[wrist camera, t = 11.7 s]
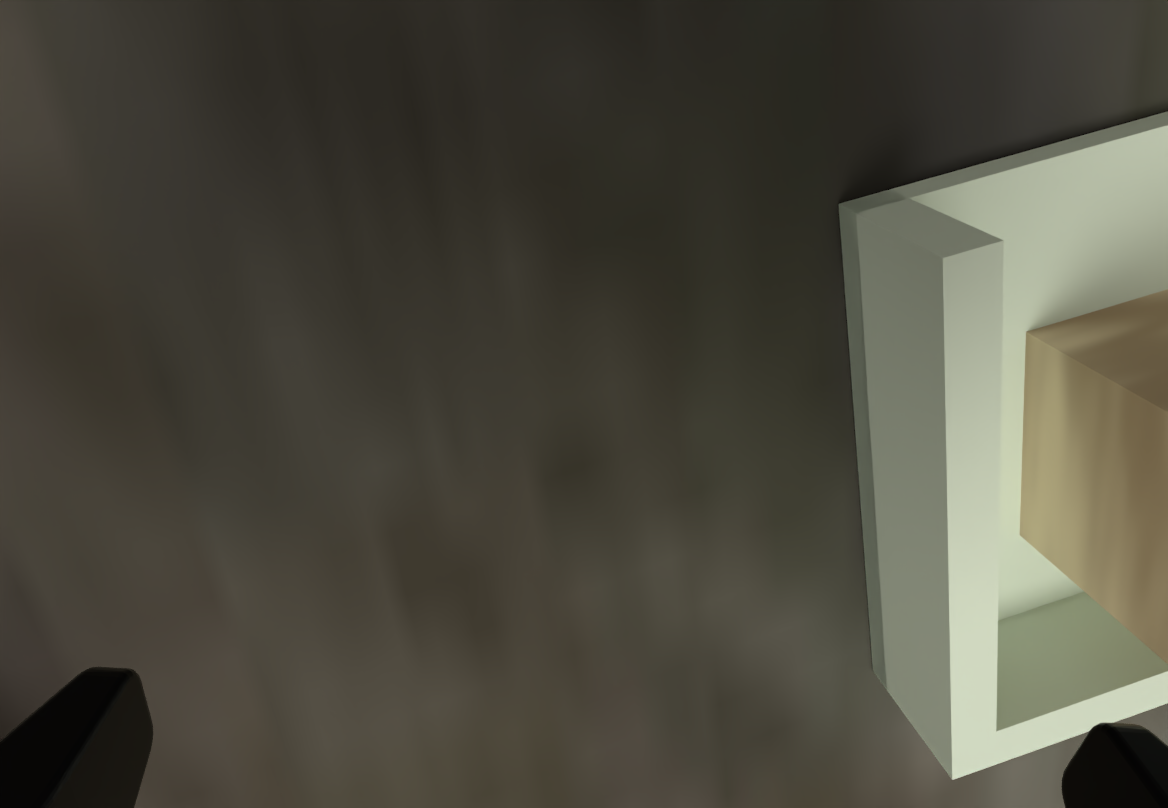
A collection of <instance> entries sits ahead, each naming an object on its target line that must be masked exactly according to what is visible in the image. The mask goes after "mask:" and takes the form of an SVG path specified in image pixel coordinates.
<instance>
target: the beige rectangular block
mask: <svg viewBox="0 0 1168 808" xmlns="http://www.w3.org/2000/svg"><path fill="white" fill-rule="evenodd" d="M1020 536H1021V537H1022V538H1024V539H1025V540H1026V541H1027V542H1028V543H1029V544H1030V545H1032V546H1033V547H1034V548H1035V549H1036V550H1037V551H1038V552H1040V553H1041V554H1042V555H1043V556H1044V557H1045V558H1047V559H1048V560H1049V561H1050V562H1051V563H1052V564H1053V565H1055V566H1056V567H1057V568H1058V569H1059V570H1060V571H1061V572H1063V573H1064V574H1065V575H1066V576H1067V577H1068V578H1069V579H1071V580H1072V581H1073V582H1074V583H1075V584H1076V585H1077V586H1079V587H1080V588H1081V589H1082V590H1083V591H1084V592H1085V593H1087V594H1088V595H1089V596H1090V597H1091V598H1092V599H1093V600H1095V601H1096V602H1097V603H1098V604H1099V605H1100V606H1101V607H1103V608H1104V609H1105V610H1106V611H1107V612H1108V613H1110V614H1111V615H1112V616H1113V617H1114V618H1115V619H1116V620H1118V621H1119V622H1120V623H1121V624H1122V625H1123V626H1124V627H1126V628H1127V629H1128V630H1129V631H1130V632H1131V633H1132V634H1134V635H1135V636H1136V637H1137V638H1138V639H1139V640H1140V641H1142V642H1143V643H1144V644H1145V645H1146V646H1147V647H1148V648H1150V649H1151V650H1152V651H1153V652H1154V653H1155V654H1156V655H1158V656H1159V657H1160V658H1161V659H1162V660H1163V661H1165V662H1166V663H1167V664H1168V289H1167V290H1164V291H1160V292H1157V293H1154V294H1150V295H1147V296H1144V297H1140V298H1137V299H1134V300H1130V301H1127V302H1124V303H1120V304H1117V305H1114V306H1110V307H1107V308H1104V309H1100V310H1097V311H1094V312H1091V313H1087V314H1084V315H1081V316H1077V317H1074V318H1071V319H1067V320H1064V321H1061V322H1057V323H1054V324H1051V325H1047V326H1044V327H1041V328H1037V329H1034V330H1031V331H1027V332H1026V347H1025V378H1024V410H1023V442H1022V474H1021V506H1020Z"/></svg>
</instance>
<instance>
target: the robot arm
mask: <svg viewBox="0 0 1168 808" xmlns="http://www.w3.org/2000/svg"><path fill="white" fill-rule="evenodd" d="M152 740H153V724H152V720H151V716H150V712H149V709H148V705H147V701H146V697H145V694H144V690H143V686H142V683H141V679H140V677H139V675H138V674H137V673H136V672H135V671H134V670H132V669H127V668H109V667H93V668H89V669H87V670H85V671H83V672H81V673H80V674H79V675H77V676H76V677H75V678H74V679H73V680H71V681H70V682H69V683H68V684H67V685H65V686H64V687H63V688H62V689H61V690H60V691H58V692H57V693H56V694H55V695H54V696H52V697H51V698H50V699H49V700H48V701H47V702H45V703H44V704H43V705H42V706H41V707H39V708H38V709H37V710H36V711H35V712H34V713H32V714H31V715H30V716H29V717H28V718H26V719H25V720H24V721H23V722H22V723H21V724H19V725H18V726H17V727H16V728H15V729H13V730H12V731H11V732H10V733H9V734H8V735H6V736H5V737H4V738H3V739H2V740H0V808H134V806H135V802H136V799H137V796H138V792H139V789H140V785H141V782H142V778H143V775H144V772H145V768H146V765H147V761H148V758H149V754H150V751H151V746H152ZM1062 795H1063V800H1064V804H1065V808H1168V746H1167V745H1166V744H1165V743H1164V742H1163V741H1161V740H1160V739H1159V738H1158V737H1157V736H1156V735H1154V734H1153V733H1152V732H1150V731H1149V730H1148V729H1146V728H1144V727H1142V726H1139V725H1135V724H1124V723H1106V722H1105V723H1099V724H1097V725H1095V726H1094V727H1092V729H1091V730H1090V731H1089V733H1088V734H1087V736H1086V737H1085V739H1084V740H1083V742H1082V744H1081V745H1080V747H1079V748H1078V750H1077V751H1076V753H1075V754H1074V756H1073V758H1072V759H1071V761H1070V762H1069V764H1068V765H1067V767H1066V769H1065V771H1064V774H1063V778H1062Z"/></svg>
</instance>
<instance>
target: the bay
mask: <svg viewBox="0 0 1168 808" xmlns="http://www.w3.org/2000/svg"><path fill="white" fill-rule="evenodd" d="M838 205H839V219H840V232H841V246H842V260H843V273H844V287H845V300H846V314H847V328H848V341H849V355H850V368H851V382H852V396H853V409H854V423H855V436H856V450H857V463H858V477H859V491H860V504H861V518H862V531H863V545H864V559H865V572H866V586H867V599H868V613H869V626H870V640H871V654H872V667H873V672H874V673H875V674H876V676H877V677H878V679H879V680H880V681H881V683H882V684H883V685H884V687H885V688H886V690H887V691H888V692H889V694H890V695H891V696H892V698H893V699H894V701H895V702H896V703H897V705H898V706H899V707H900V709H901V710H902V712H903V713H904V714H905V716H906V717H907V718H908V720H909V721H910V723H911V724H912V725H913V727H914V728H915V729H916V731H917V732H918V734H919V735H920V736H921V738H922V739H923V740H924V742H925V743H926V745H927V746H928V747H929V749H930V750H931V751H932V753H933V754H934V756H935V757H936V758H937V760H938V761H939V762H940V764H941V765H942V767H943V768H944V769H945V771H946V772H947V773H948V775H949V776H950V778H951V779H952V780H954V779H957V778H959V777H962V776H965V775H968V774H971V773H973V772H976V771H979V770H982V769H985V768H987V767H990V766H993V765H996V764H999V763H1001V762H1004V761H1007V760H1010V759H1013V758H1015V757H1018V756H1021V755H1024V754H1027V753H1029V752H1032V751H1035V750H1038V749H1041V748H1043V747H1046V746H1049V745H1052V744H1055V743H1057V742H1060V741H1063V740H1066V739H1069V738H1071V737H1074V736H1077V735H1080V734H1083V733H1085V732H1088V731H1090V730H1091V729H1092V727H1094V726H1095V725H1097V724H1099V723H1105V722H1106V723H1113V722H1116V721H1119V720H1122V719H1125V718H1128V717H1130V716H1133V715H1136V714H1139V713H1142V712H1144V711H1147V710H1150V709H1153V708H1156V707H1158V706H1161V705H1164V704H1167V703H1168V664H1167V663H1166V662H1165V661H1163V660H1162V659H1161V658H1160V657H1159V656H1158V655H1156V654H1155V653H1154V652H1153V651H1152V650H1151V649H1150V648H1148V647H1147V646H1146V645H1145V644H1144V643H1143V642H1142V641H1140V640H1139V639H1138V638H1137V637H1136V636H1135V635H1134V634H1132V633H1131V632H1130V631H1129V630H1128V629H1127V628H1126V627H1124V626H1123V625H1122V624H1121V623H1120V622H1119V621H1118V620H1116V619H1115V618H1114V617H1113V616H1112V615H1111V614H1110V613H1108V612H1107V611H1106V610H1105V609H1104V608H1103V607H1101V606H1100V605H1099V604H1098V603H1097V602H1096V601H1095V600H1093V599H1092V598H1091V597H1090V596H1089V595H1088V594H1087V593H1085V592H1084V591H1083V590H1082V589H1081V588H1080V587H1079V586H1077V585H1076V584H1075V583H1074V582H1073V581H1072V580H1071V579H1069V578H1068V577H1067V576H1066V575H1065V574H1064V573H1063V572H1061V571H1060V570H1059V569H1058V568H1057V567H1056V566H1055V565H1053V564H1052V563H1051V562H1050V561H1049V560H1048V559H1047V558H1045V557H1044V556H1043V555H1042V554H1041V553H1040V552H1038V551H1037V550H1036V549H1035V548H1034V547H1033V546H1032V545H1030V544H1029V543H1028V542H1027V541H1026V540H1025V539H1024V538H1022V537H1021V536H1020V506H1021V474H1022V442H1023V410H1024V378H1025V347H1026V332H1027V331H1031V330H1034V329H1037V328H1041V327H1044V326H1047V325H1051V324H1054V323H1057V322H1061V321H1064V320H1067V319H1071V318H1074V317H1077V316H1081V315H1084V314H1087V313H1091V312H1094V311H1097V310H1100V309H1104V308H1107V307H1110V306H1114V305H1117V304H1120V303H1124V302H1127V301H1130V300H1134V299H1137V298H1140V297H1144V296H1147V295H1150V294H1154V293H1157V292H1160V291H1164V290H1167V289H1168V111H1167V112H1164V113H1160V114H1157V115H1153V116H1150V117H1146V118H1142V119H1139V120H1135V121H1132V122H1128V123H1125V124H1121V125H1118V126H1114V127H1110V128H1107V129H1103V130H1100V131H1096V132H1093V133H1089V134H1085V135H1082V136H1078V137H1075V138H1071V139H1068V140H1064V141H1060V142H1057V143H1053V144H1050V145H1046V146H1043V147H1039V148H1036V149H1032V150H1028V151H1025V152H1021V153H1018V154H1014V155H1011V156H1007V157H1003V158H1000V159H996V160H993V161H989V162H986V163H982V164H979V165H975V166H971V167H968V168H964V169H961V170H957V171H954V172H950V173H946V174H943V175H939V176H936V177H932V178H929V179H925V180H922V181H918V182H914V183H911V184H907V185H904V186H900V187H897V188H893V189H889V190H886V191H882V192H879V193H875V194H872V195H868V196H865V197H861V198H857V199H854V200H850V201H847V202H843V203H840V204H838Z"/></svg>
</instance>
